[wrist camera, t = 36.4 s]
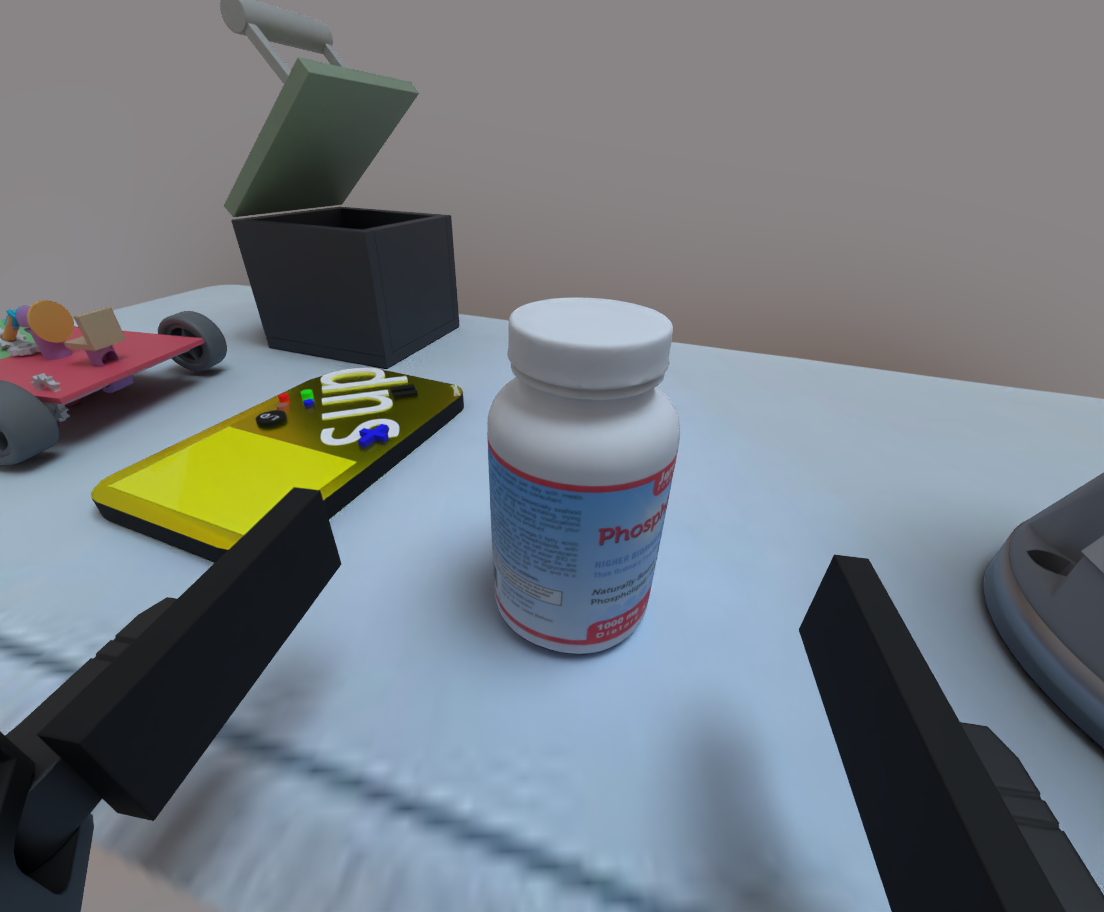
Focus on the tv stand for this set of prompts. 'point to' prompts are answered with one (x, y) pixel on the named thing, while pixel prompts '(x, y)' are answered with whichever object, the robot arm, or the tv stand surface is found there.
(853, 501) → the tv stand surface
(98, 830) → the tv stand surface
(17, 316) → the toy car
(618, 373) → the pill bottle
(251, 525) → the game console
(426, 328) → the black box
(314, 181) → the box lid
